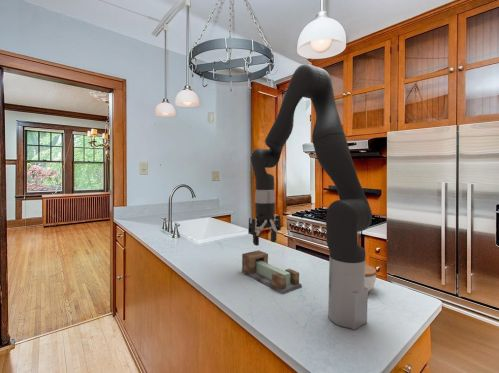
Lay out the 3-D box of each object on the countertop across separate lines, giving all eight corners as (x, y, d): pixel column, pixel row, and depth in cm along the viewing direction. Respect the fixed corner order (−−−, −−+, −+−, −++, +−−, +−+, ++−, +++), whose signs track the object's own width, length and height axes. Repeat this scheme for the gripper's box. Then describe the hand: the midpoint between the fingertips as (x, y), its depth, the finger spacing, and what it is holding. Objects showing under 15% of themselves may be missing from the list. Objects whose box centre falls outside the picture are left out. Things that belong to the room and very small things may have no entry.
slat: (290, 284, 94) (290, 272, 93) (284, 286, 92) (284, 274, 92) (255, 267, 109) (255, 258, 109) (249, 269, 108) (249, 259, 107)
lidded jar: (351, 280, 99) (352, 256, 99) (381, 290, 91) (382, 263, 90) (336, 288, 92) (336, 262, 92) (366, 300, 84) (367, 271, 84)
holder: (301, 287, 93) (302, 266, 93) (283, 294, 88) (283, 272, 87) (259, 267, 112) (259, 250, 112) (241, 272, 107) (241, 254, 107)
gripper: (256, 203, 94) (256, 248, 94) (285, 201, 102) (285, 242, 103) (244, 201, 100) (244, 244, 100) (272, 199, 108) (272, 239, 109)
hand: (265, 243), depth 102 cm, fingers open, 8 cm apart
